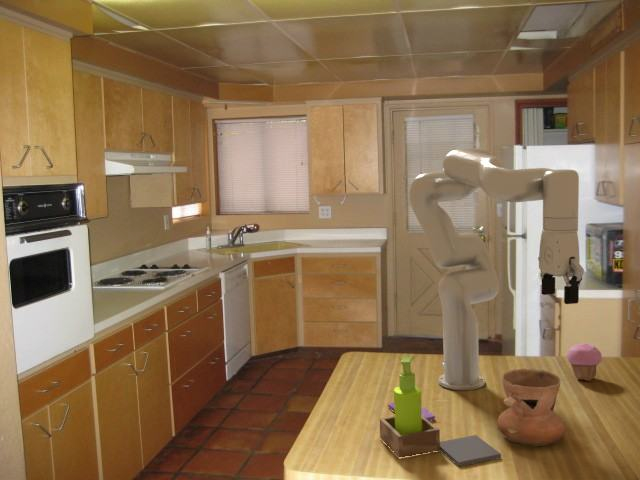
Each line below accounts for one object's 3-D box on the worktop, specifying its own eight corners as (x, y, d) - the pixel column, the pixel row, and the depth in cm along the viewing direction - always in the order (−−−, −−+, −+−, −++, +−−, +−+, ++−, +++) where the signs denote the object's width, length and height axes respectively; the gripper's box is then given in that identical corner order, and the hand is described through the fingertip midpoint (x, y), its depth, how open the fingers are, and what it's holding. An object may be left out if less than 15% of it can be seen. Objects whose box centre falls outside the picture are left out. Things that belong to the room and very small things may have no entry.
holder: (380, 439, 150) (379, 418, 149) (418, 432, 153) (417, 411, 152) (399, 459, 140) (398, 437, 139) (440, 451, 143) (439, 429, 142)
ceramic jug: (535, 461, 137) (535, 395, 135) (480, 438, 148) (479, 378, 146) (584, 436, 147) (585, 374, 145) (529, 417, 159) (529, 360, 157)
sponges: (410, 427, 157) (409, 420, 157) (387, 409, 169) (387, 402, 169) (436, 422, 159) (436, 415, 159) (411, 404, 171) (411, 397, 171)
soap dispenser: (425, 440, 149) (423, 354, 146) (419, 453, 142) (417, 364, 140) (399, 437, 151) (397, 353, 148) (393, 450, 144) (390, 362, 142)
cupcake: (604, 376, 184) (604, 341, 183) (598, 386, 177) (598, 350, 175) (570, 372, 189) (570, 338, 187) (563, 381, 181) (563, 346, 180)
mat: (435, 446, 145) (435, 442, 145) (476, 439, 148) (475, 435, 148) (458, 466, 136) (458, 462, 135) (500, 458, 139) (500, 453, 138)
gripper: (526, 221, 156) (525, 292, 159) (566, 230, 139) (565, 308, 142) (555, 219, 158) (554, 289, 160) (598, 227, 141) (596, 306, 143)
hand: (559, 298), depth 151 cm, fingers open, 9 cm apart
